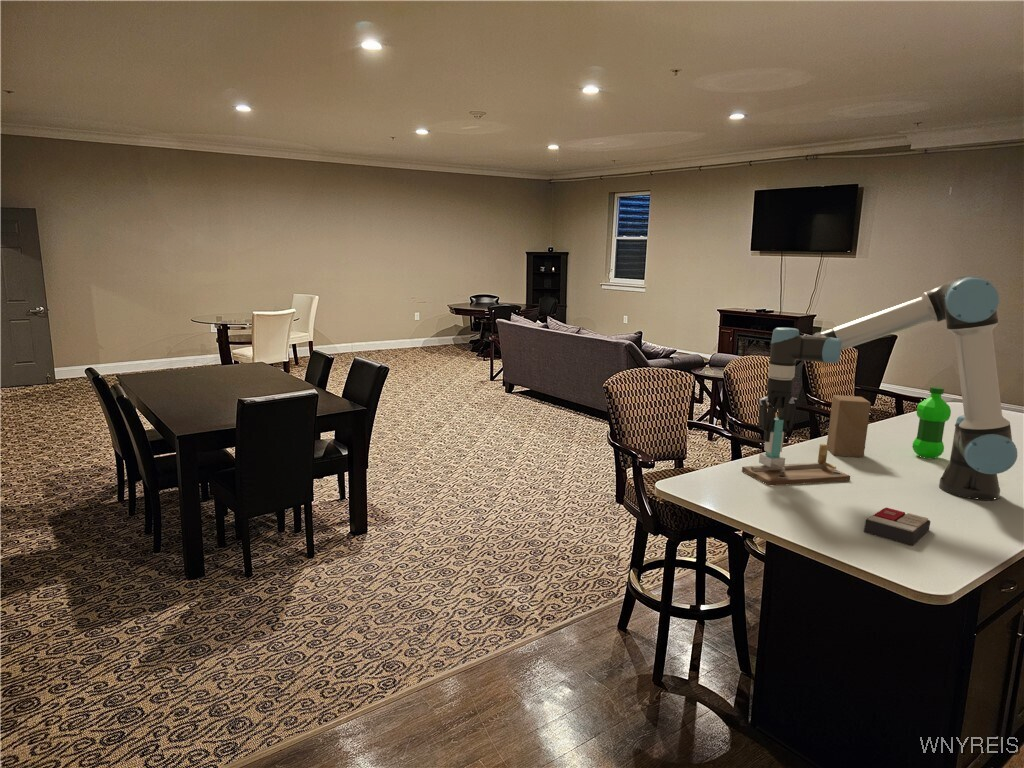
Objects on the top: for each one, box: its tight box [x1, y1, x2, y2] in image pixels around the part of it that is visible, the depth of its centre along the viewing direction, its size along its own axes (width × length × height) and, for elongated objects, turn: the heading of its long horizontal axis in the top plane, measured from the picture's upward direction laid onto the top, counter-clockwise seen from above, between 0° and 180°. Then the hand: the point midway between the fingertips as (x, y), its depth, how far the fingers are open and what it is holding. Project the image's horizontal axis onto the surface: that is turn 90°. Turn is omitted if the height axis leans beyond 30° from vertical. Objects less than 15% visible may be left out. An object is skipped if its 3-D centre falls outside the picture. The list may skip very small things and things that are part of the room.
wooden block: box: [826, 394, 872, 458], centre depth 236 cm, size 10×10×20 cm
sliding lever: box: [758, 417, 786, 475], centre depth 208 cm, size 9×5×16 cm, turn 15°
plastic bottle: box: [911, 386, 952, 459], centre depth 234 cm, size 10×10×25 cm
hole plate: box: [741, 443, 851, 486], centre depth 209 cm, size 14×29×9 cm, turn 105°
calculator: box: [863, 507, 931, 547], centre depth 168 cm, size 11×4×15 cm
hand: (772, 451), depth 210 cm, fingers closed on sliding lever, 3 cm apart
